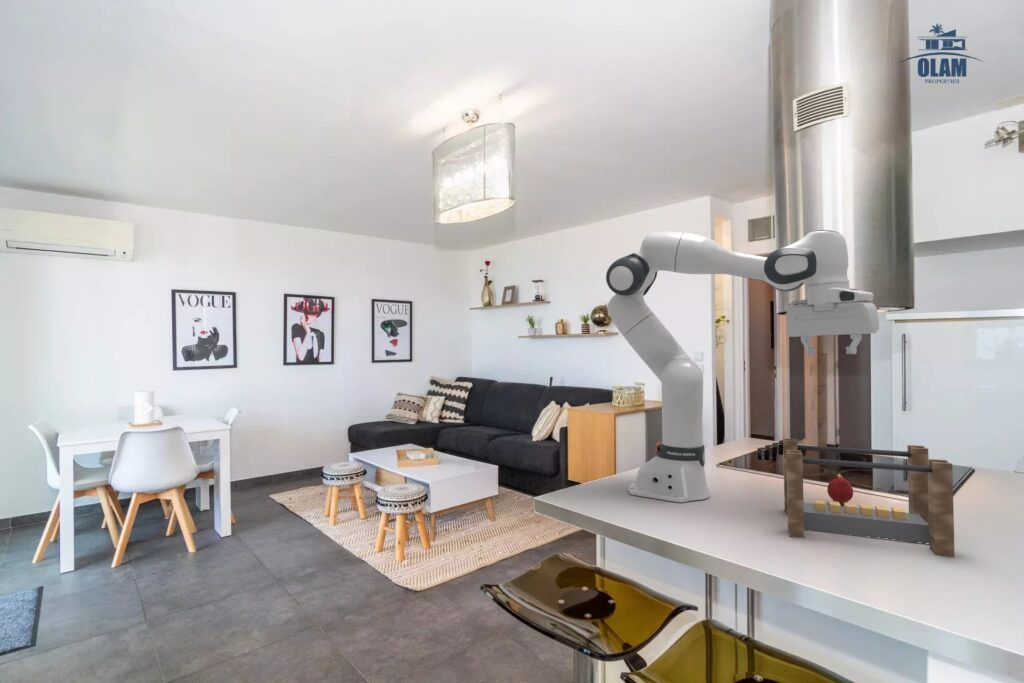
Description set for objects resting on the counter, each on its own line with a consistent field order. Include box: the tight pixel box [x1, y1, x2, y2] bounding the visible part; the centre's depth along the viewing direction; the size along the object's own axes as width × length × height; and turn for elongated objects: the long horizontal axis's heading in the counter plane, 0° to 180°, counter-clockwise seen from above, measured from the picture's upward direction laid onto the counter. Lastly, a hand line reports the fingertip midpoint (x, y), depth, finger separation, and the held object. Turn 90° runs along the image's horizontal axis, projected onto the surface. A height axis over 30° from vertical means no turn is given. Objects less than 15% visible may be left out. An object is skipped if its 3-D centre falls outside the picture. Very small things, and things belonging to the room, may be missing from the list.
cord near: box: [803, 457, 932, 473], centre depth 110 cm, size 28×1×1 cm, turn 65°
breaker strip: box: [804, 499, 930, 545], centre depth 118 cm, size 24×8×6 cm, turn 65°
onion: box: [826, 473, 854, 506], centre depth 136 cm, size 6×6×8 cm
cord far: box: [797, 444, 911, 458], centre depth 125 cm, size 28×1×1 cm, turn 65°
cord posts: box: [782, 437, 955, 558], centre depth 118 cm, size 29×20×18 cm
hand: (830, 354), depth 125 cm, fingers open, 8 cm apart
